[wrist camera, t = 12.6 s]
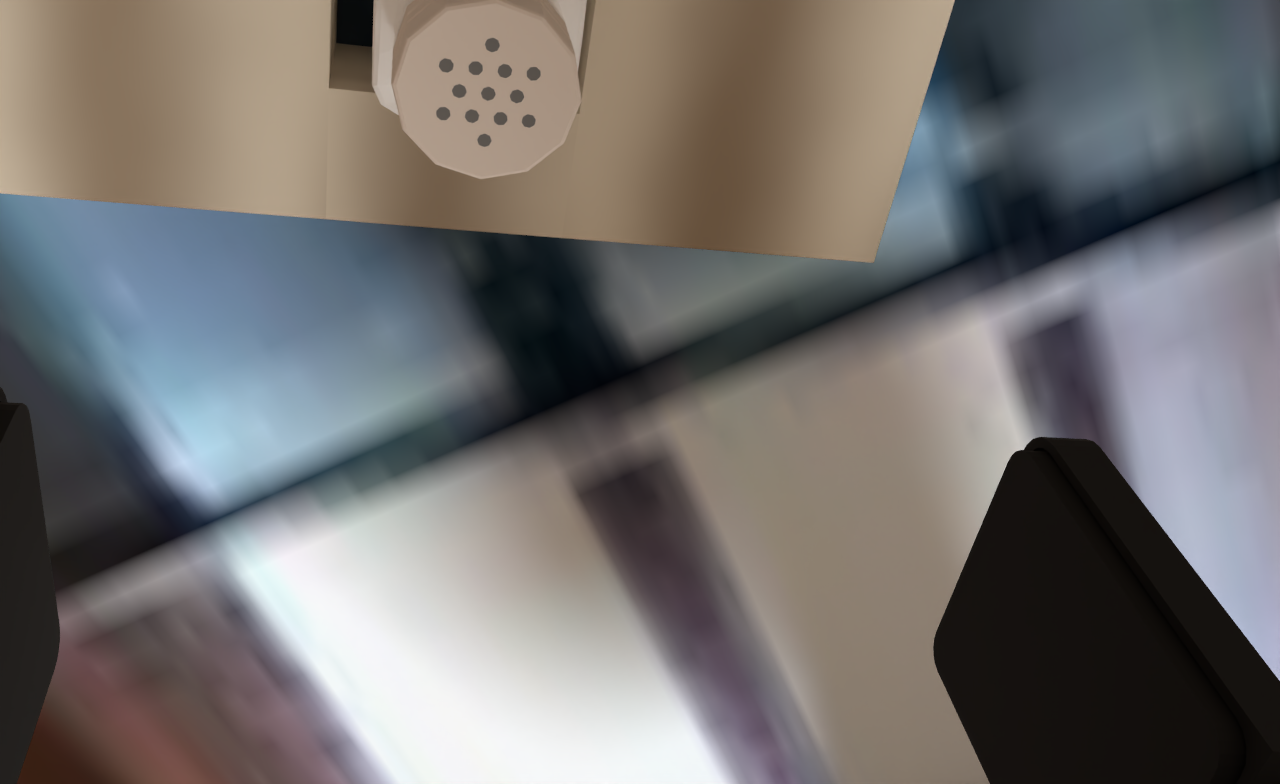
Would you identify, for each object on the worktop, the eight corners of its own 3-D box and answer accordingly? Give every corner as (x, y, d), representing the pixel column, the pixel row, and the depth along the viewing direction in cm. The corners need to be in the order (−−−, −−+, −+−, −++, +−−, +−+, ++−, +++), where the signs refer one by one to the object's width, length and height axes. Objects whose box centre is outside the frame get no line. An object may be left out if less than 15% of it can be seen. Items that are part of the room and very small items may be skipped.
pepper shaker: (545, 37, 29) (589, 209, 22) (378, 20, 28) (364, 193, 21) (563, -136, 27) (621, -13, 19) (384, -160, 26) (369, -41, 19)
